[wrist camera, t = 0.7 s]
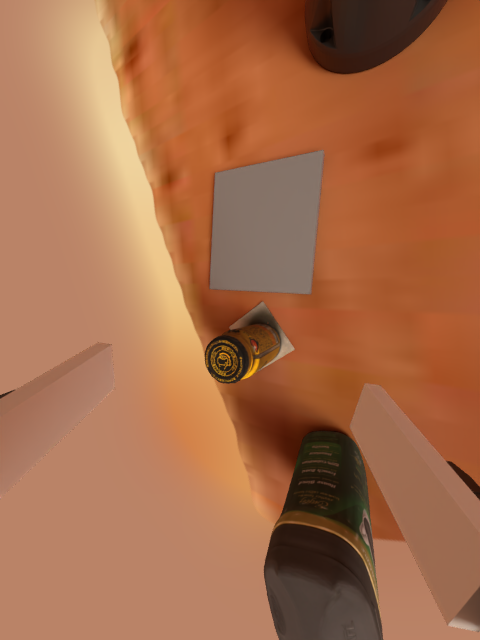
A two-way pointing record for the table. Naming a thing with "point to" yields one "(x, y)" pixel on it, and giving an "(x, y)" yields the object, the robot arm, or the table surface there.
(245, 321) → the condiment
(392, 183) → the table surface
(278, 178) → the plain gray board
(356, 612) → the coffee jar
